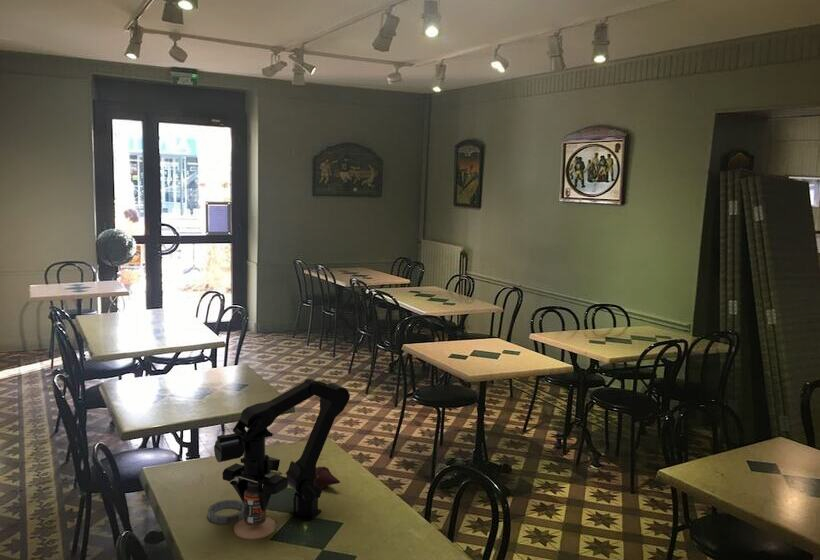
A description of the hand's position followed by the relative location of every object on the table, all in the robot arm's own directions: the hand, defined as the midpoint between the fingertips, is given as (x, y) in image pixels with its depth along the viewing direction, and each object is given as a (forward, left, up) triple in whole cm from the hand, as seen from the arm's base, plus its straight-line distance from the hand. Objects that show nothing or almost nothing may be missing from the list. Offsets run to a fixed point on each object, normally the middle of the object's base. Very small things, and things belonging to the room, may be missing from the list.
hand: (255, 507), depth 181 cm
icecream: (-1, -30, -7) cm, 31 cm away
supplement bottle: (0, 0, -4) cm, 4 cm away
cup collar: (+12, -2, -6) cm, 14 cm away
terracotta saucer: (0, 0, -6) cm, 6 cm away
